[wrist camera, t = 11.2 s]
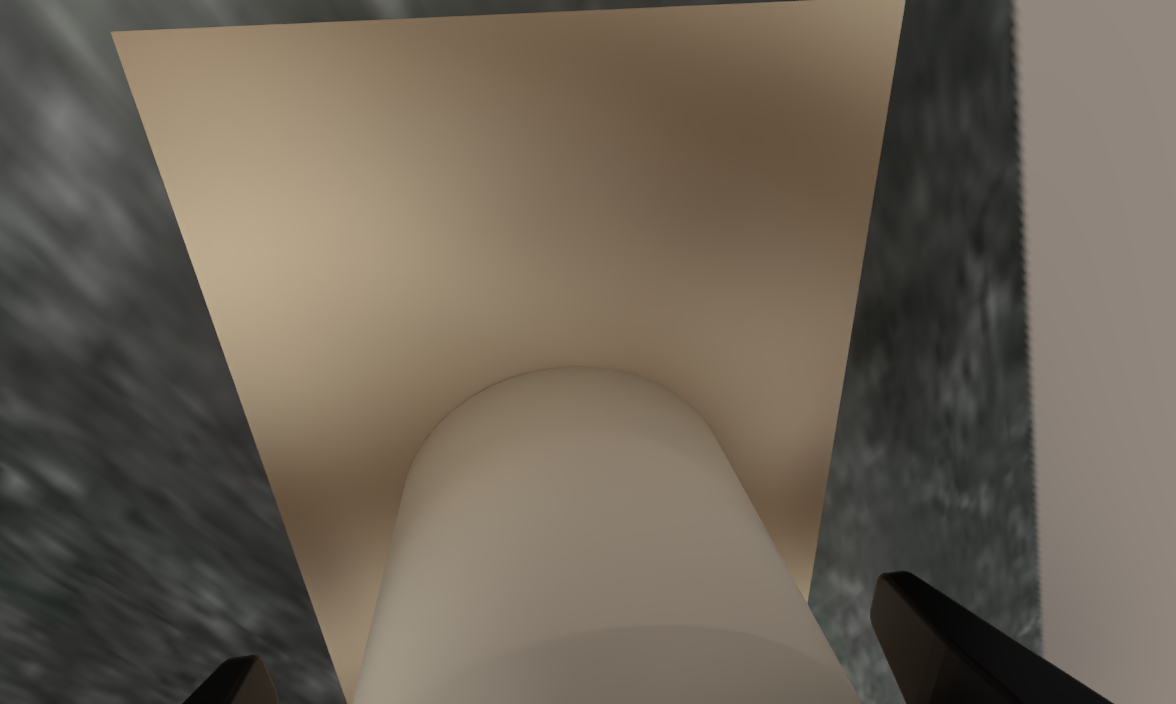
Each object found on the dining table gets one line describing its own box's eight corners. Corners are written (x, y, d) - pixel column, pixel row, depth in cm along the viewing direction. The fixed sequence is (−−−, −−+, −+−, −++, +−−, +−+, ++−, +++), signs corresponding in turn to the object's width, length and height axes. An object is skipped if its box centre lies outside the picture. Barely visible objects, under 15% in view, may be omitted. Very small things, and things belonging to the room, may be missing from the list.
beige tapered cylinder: (718, 603, 13) (833, 900, 8) (432, 642, 12) (388, 980, 8) (737, 350, 10) (922, 585, 6) (370, 385, 9) (249, 677, 5)
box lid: (773, 703, 16) (786, 734, 15) (385, 760, 15) (379, 795, 14) (873, 1, 9) (905, -4, 8) (148, 34, 8) (110, 32, 7)
